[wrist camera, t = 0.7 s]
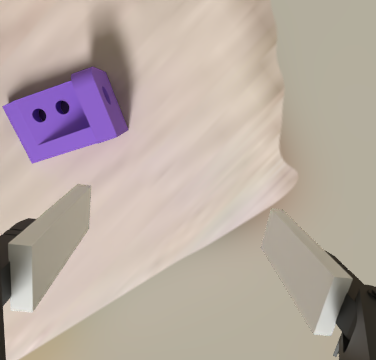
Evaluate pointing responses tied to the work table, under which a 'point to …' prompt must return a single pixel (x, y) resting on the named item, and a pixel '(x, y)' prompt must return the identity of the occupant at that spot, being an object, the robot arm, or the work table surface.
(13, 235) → the robot arm
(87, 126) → the bracket
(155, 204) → the work table surface
